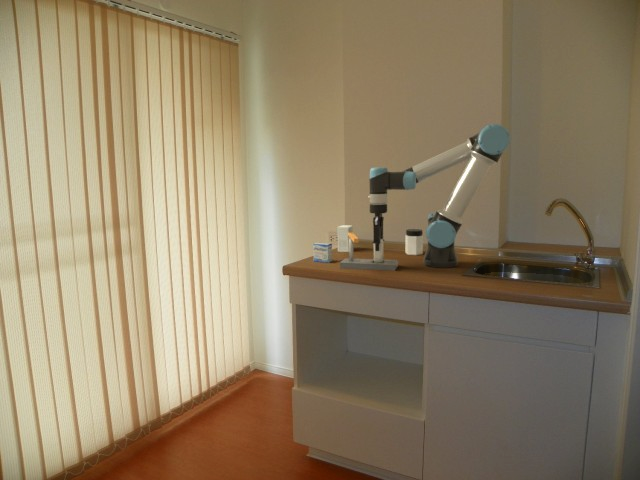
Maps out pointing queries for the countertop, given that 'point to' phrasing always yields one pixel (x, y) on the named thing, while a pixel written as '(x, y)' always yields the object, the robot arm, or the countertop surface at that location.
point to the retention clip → (353, 237)
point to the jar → (414, 242)
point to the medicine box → (322, 252)
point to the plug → (380, 260)
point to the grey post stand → (366, 262)
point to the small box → (343, 237)
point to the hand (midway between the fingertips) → (378, 257)
